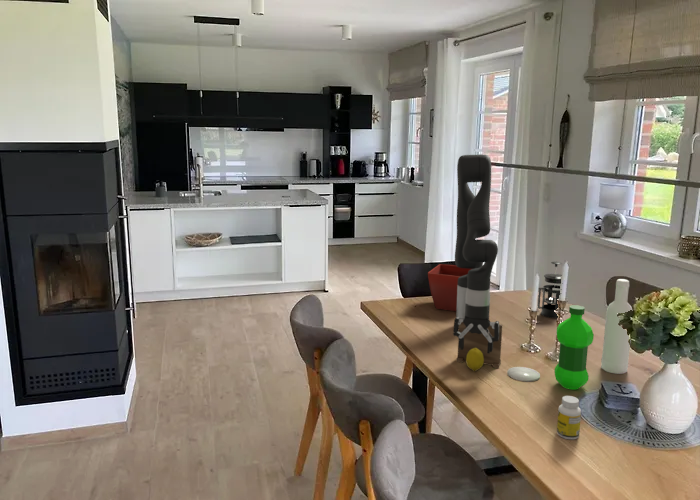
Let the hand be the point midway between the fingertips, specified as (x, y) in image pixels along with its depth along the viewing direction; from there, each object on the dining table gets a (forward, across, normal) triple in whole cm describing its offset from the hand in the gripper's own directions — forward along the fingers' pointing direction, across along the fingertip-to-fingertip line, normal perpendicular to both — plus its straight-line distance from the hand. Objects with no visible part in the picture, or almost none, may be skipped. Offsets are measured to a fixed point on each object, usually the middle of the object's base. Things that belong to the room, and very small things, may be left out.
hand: (475, 350), depth 182 cm
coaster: (+7, -15, -3) cm, 17 cm away
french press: (+6, -20, -72) cm, 75 cm away
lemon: (+7, 0, 0) cm, 7 cm away
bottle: (+7, -42, -19) cm, 47 cm away
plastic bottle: (+7, -29, 0) cm, 30 cm away
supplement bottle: (+8, -29, +31) cm, 43 cm away
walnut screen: (+7, 0, -8) cm, 11 cm away
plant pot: (+6, +21, -67) cm, 71 cm away
